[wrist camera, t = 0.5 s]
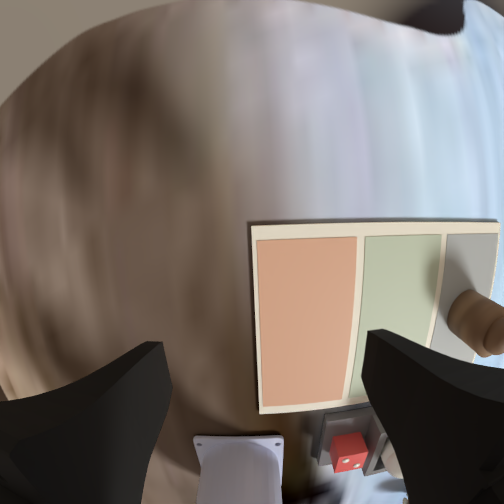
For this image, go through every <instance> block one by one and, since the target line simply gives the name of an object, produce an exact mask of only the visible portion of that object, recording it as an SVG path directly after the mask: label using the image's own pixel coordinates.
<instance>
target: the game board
mask: <svg viewBox="0 0 504 504" xmlns="http://www.w3.org/2000/svg"><path fill="white" fill-rule="evenodd" d="M251 231H252V254H253V276H254V299H255V322H256V344H257V367H258V390H259V413H260V414H270V413H286V412H298V411H308V410H317V409H325V408H333V407H340V406H346V405H353V404H358V403H364V402H369V399H368V397H367V394H366V391H365V388H364V385H363V382H362V379H361V372H362V366H363V359H364V353H365V345H366V337H367V331H369V330H376V329H386V330H389V331H391V332H394V333H396V334H398V335H400V336H403V337H405V338H407V339H409V340H411V341H414V342H416V343H418V344H420V345H422V346H425V347H427V348H429V349H432V350H434V351H437V352H439V353H442V354H444V355H447V356H450V357H453V358H456V359H459V360H462V361H466V362H470V363H473V362H474V359H475V356H476V352H475V351H474V350H472V349H471V348H470V347H469V346H468V345H467V344H465V343H464V342H463V341H462V340H461V339H459V338H458V337H457V336H456V335H455V334H453V333H452V332H451V331H450V330H449V328H448V325H447V317H448V312H449V309H450V307H451V305H452V303H453V302H454V300H455V299H456V298H457V297H458V296H459V295H460V294H461V293H462V292H464V291H466V290H474V291H476V292H478V293H480V294H481V295H483V296H485V297H487V298H488V299H491V294H492V289H493V283H494V277H495V271H496V264H497V256H498V247H499V237H500V223H499V222H350V223H310V224H280V225H255V226H251Z"/></svg>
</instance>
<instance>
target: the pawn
mask: <svg viewBox="0 0 504 504" xmlns="http://www.w3.org/2000/svg"><path fill="white" fill-rule="evenodd" d="M447 325H448V328H449V330H450V331H451V332H452V333H453V334H455V335H456V336H457V337H458V338H459V339H461V340H462V341H463V342H464V343H465V344H467V345H468V346H469V347H470V348H471V349H472V350H474V351H475V352H476V353H477V354H478V355H479V356H481V357H484V358H485V357H489V356H491V355H500V354H502V353H504V307H502V306H501V305H499V304H497V303H495V302H494V301H492V300H490V299H488V298H487V297H485V296H483V295H481V294H480V293H478V292H476V291H474V290H466V291H464V292H462V293H461V294H460V295H459V296H458V297H457V298H456V299H455V300H454V302H453V303H452V305H451V307H450V309H449V312H448V317H447Z"/></svg>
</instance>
